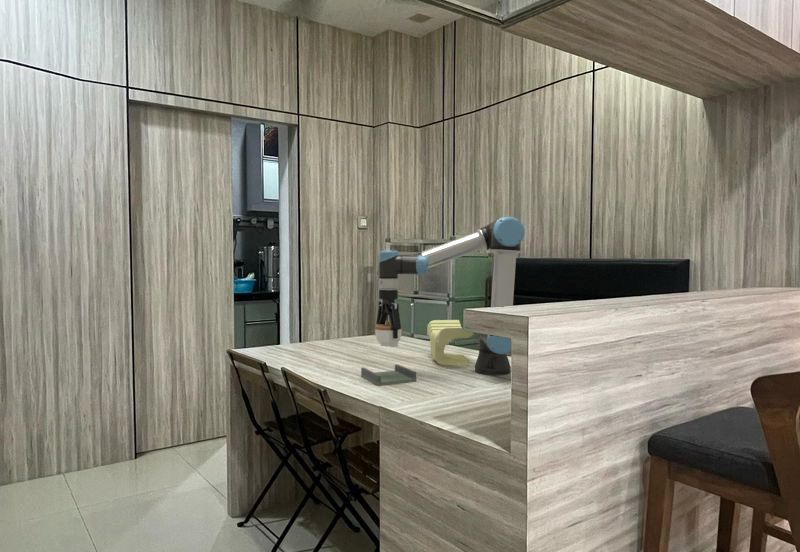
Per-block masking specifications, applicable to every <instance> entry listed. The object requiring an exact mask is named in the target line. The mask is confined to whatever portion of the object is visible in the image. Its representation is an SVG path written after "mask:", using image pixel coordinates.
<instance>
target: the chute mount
mask: <svg viewBox="0 0 800 552" xmlns="http://www.w3.org/2000/svg"><path fill="white" fill-rule="evenodd" d="M360 369H361V371H360V372H361V373H360V376H361V377H360V378H362V379H364V380H365V381H368V382H371V383H372V384H373V385H376V386H377V387H379V386H380V387H381V386H389V385H398V384H406V383H415V382H417V371H415V370H412V369H410V368H407V367H405V366H402V365H401V364H396V363H395V365H394V370H388V371H387V370H385V371H377V372H374V371H372V370H369V369H368V368H366V367H361V368H360Z"/></svg>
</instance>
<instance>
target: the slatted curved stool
mask: <svg viewBox="0 0 800 552" xmlns="http://www.w3.org/2000/svg"><path fill="white" fill-rule="evenodd" d="M463 328H464V327H462V324H461V322H460V320H459V319H442V320H441V319H435V320H431V321H430V322H429V323H428V324H427V329H426V330H427V331H426V332H427V333H426V335H427V336H429V341H430V342H429V343H430V347H429V348H430V355H431V357H432V358H433V360H435V362H436V363H437V364H439V365H442V366H444V365H445V366H447V365H448V366H449V365H470V359H469V358H468V357H466V356H465V355H463V354H462V355H460V354H459V355H455V354H447V353H445V347H446V346H449V345H450V341H452V340H453V341H454V340H457V339H467V338H468V339H469V338H470V337H472V336H474V335H475V332H474V333H472V332H468V331H465V330H464V329H463Z"/></svg>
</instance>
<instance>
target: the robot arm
mask: <svg viewBox="0 0 800 552" xmlns="http://www.w3.org/2000/svg"><path fill="white" fill-rule="evenodd" d="M524 237H525V227H524V224H523V222H521V221H520V220H519V219H518V218H516V217H513V216H502V217H501V218H498V219H495V220H494V221H491V222H490V223H489V224H486V225H485V226H483V227H480V228H478V229H477V230H476V231H475V232H474V233H473V232H472V233H470V234H467V235H464V236H461V237H459V238H456V239H453V240H451V241H448V242H445V243H443V244H439V245H437V246H434V247H431V248H428V249H426V250H423V251H420V252H418V253H415V254H411V255H400V254H399V251H398V250H391V249H389V250H386V249H385V250H383V249H382V250H381V251H380V252H379V254H378V255H379V259H378V282H377V283H378V288H379V290H378V298H379V300H380V301H378V309H377V316H376V324H375V325H380V324H386V323H387V318H389V322H390V324H391V327H392V328H391V329H390V330H391V346H390V347H391V348H394V347H395V348H396V347H399V342H398V330H399V329H401V326H402V324H401V316H400V311H399V310H400V309H399V307H400V306H399V303H395V300H398V298H399V290H398V289H399V275H417V276H418V275H419V276H421V275H427V274H428V272H429V269H431V268H432V267H433V268H434V267H436V266H438V265H441V264H445V263H447V262H450V261H452V260H456V259H458V258H461V257H464V256H468V255H469V254H472V253H476V252H478V251H481V250H484V251H488V250H490V251H491V252H492V253H493V255H494V256H493V266H492V267H493V269H492V284H491V299H490V308H491V307H504V306H513V307H514V294H515V293H514V292H515V279H516V263H517V256H518V255H519V254H520V253H521V247H522V241H523V239H524ZM478 334H479V333H478ZM510 352H512V351H511V340H510V339H508V338H503V337H497V336H490V335H483V334H479V335H478V355H477V358H476V362H475V365H474V372H475V373H477V374H481V375H488V376H502V375H503V376H504V375H509V374H511V373H512V368H511V365H510V361H509V357H508V354H509V353H510ZM510 372H511V373H510Z"/></svg>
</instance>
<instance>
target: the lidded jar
mask: <svg viewBox="0 0 800 552" xmlns="http://www.w3.org/2000/svg"><path fill="white" fill-rule="evenodd" d="M374 328H375V330H374V331H375V332H374V333H375V334H374V335H375V338H376V340H377V343H378V344H380V346H381V347H382V346H383V347H391V330H390V329H391V328H392V327H391V323H390V321H386V323H385V324H380V325H378V324H375V326H374ZM402 328H403V326H402V325H401V329H399V330H398V343H399V342H400V340H401V337H402Z"/></svg>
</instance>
